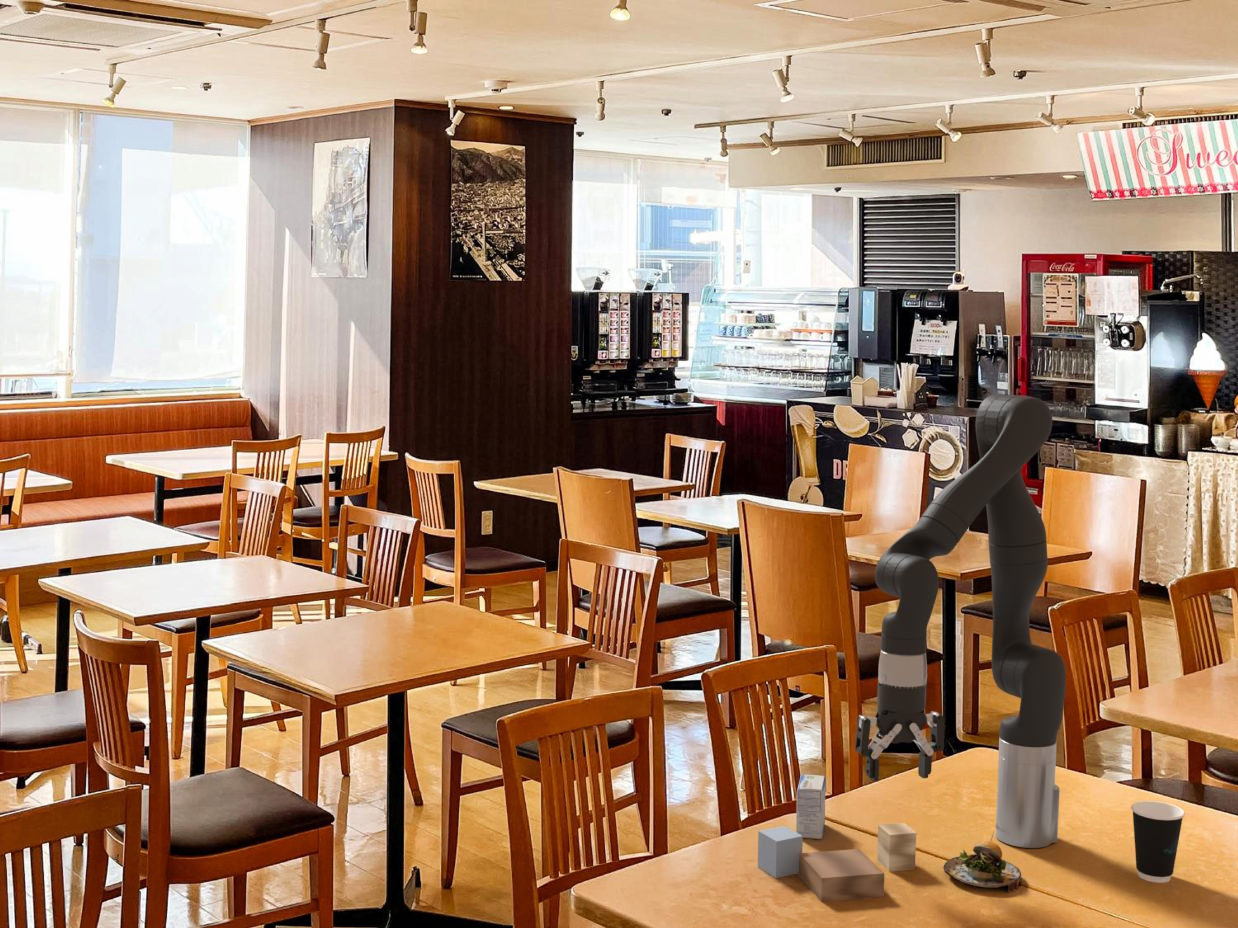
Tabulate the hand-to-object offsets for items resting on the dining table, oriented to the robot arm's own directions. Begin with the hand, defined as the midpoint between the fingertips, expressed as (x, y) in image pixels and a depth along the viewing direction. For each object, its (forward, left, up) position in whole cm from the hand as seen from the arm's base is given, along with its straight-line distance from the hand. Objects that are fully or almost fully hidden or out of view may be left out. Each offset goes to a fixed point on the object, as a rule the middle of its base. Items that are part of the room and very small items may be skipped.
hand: (898, 778), depth 223 cm
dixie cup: (-38, +13, -14) cm, 43 cm away
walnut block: (+12, +6, -15) cm, 20 cm away
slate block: (+19, -2, -14) cm, 24 cm away
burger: (-11, +8, -15) cm, 20 cm away
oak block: (0, 0, -14) cm, 14 cm away
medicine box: (+8, -17, -15) cm, 24 cm away
